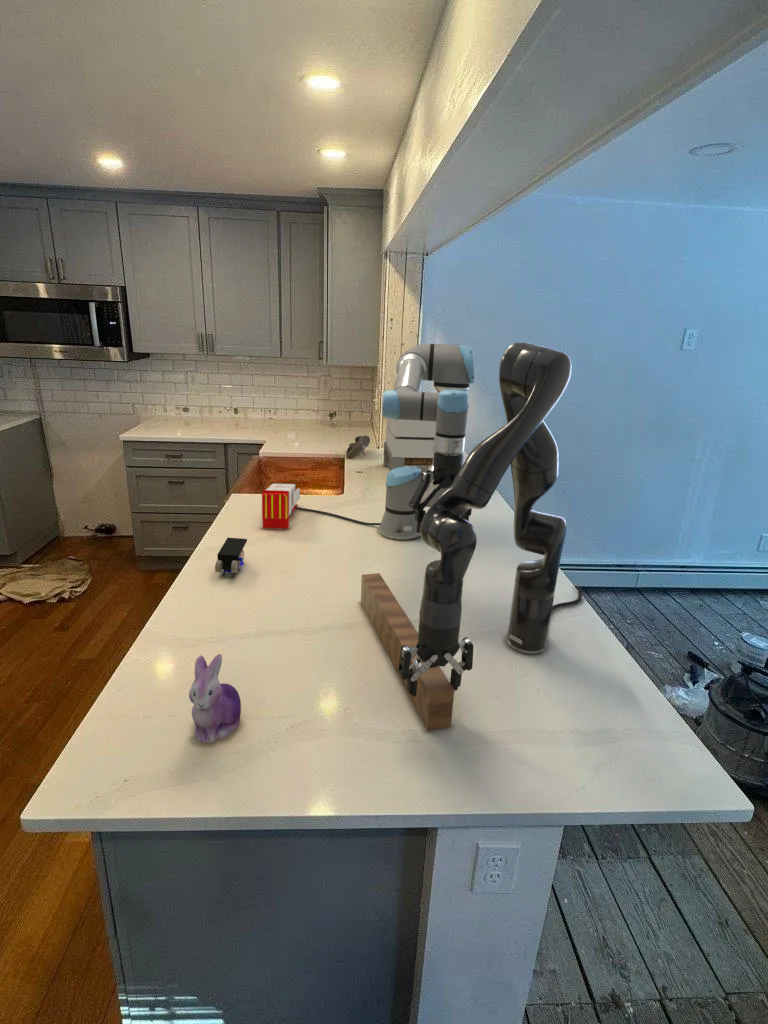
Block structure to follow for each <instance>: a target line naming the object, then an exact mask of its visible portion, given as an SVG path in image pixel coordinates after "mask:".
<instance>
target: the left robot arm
mask: <svg viewBox="0 0 768 1024" xmlns="http://www.w3.org/2000/svg"><path fill="white" fill-rule="evenodd" d="M395 372H396V378H395V381H394V382H395V383H394V386H393V389H388V390H385V391H383V394H382V401H381V402H382V403H381V414H382V416H383V418H385V419H386V418H390V419H395V420H398V419H400V420H420V421H435V422H436V423H435V437H434V450H433V463H432V465H430V466H429V465H428V466H427V471H426V470H425V471H424V470H423V471H422V469H421V468H420V467H419V466H418V467H417V466H404V467H399V468H395V469H393V470H391V471H390V470H389V471H388V473H387V475H386V482H385V487H386V488H385V489H386V490H385V504H384V505H385V507H384V508H385V509H384V513H383V515H382V519H381V522H366V521H361V520H357V519H354V518H349V517H346V516H342V515H339V514H337V513H331V512H328V511H323V510H317V509H312V508H305V507H304V508H303V507H298V506H297V507H296V509H295V510H300V511H307V512H312V513H316V514H317V513H318V514H321V515H328V516H332V517H335V518H338V519H339V518H340V519H342V520H346V521H350V522H353V523H357V524H361V525H366V526H378V533H379V534H380V535H381V536H382V537H385V538H387V539H389V540H395V541H410V540H415V539H418V538H421V534H420V527H421V522H422V520H423V517H424V515H425V514H426V512H427V511H426V510H425V508H430V507H431V506H432V505H433V504H434V503H435V502H436V501H437V500H438V498H439V497H440V496H441V495H442V494H443V493H444V492H445V491H446V490H447V489H448V488H449V487H450V486H451V485H452V484H453V482H454V480H455V478H456V476H457V474H458V473H459V471H460V469H461V467H462V465H463V464H464V454H463V453H464V451H465V444H466V431H467V423H468V422H467V421H468V412H469V411H468V410H469V406H470V405H469V396H470V395H469V393H468V392H467V391H468V390H469V389H470V384H474V383H475V355H474V350H473V348H472V347H471V346H469V345H463V344H447V343H446V344H443V343H429V342H426V343H419V344H416V345H414V346H412V347H410V348H408V349H407V350H405V351H404V352H402V354H401V355H400V356H399V357H398V359H397V361H396V366H395ZM423 381H428V382H429V381H430V382H433V388H434V389H435V391H436V392H430V391H429V392H427V391H421V389H422V382H423ZM472 511H473V510H472V509H468V510H467V511H466V512H465V513H464V514H463V515H462V516H461V518H463V519H465V520H467V521H469V522H470V517H471V516H472V513H473V512H472Z"/></svg>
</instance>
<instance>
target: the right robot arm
mask: <svg viewBox="0 0 768 1024" xmlns="http://www.w3.org/2000/svg"><path fill="white" fill-rule="evenodd" d="M572 367H573V366H572V360H571V358H570V356H569V355H568V354H567V353H565V352H563V351H561V350H559V349H554V348H550V347H545V346H542V345H537V344H535V343H530V342H525V341H516V342H513V343H511V344H510V345H509V346H508V347H507V348H506V349H505V351H504V352H503V354H502V357H501V358H500V363H499V369H498V382H499V383H498V384H499V390H500V394H501V395H500V396H501V399H502V404H503V405H502V406H503V408H504V413H505V414H504V415H505V419H506V423H505V424H504V425H503V426H502V427H500V428H498V430H495V431H494V432H493V433H491V434H490V435H488V436H487V437H485V438H484V439H483V440H481V441H480V442H479V443H478V444H477V445H476V446H475V447H474V448H472V450H471V451H470V452H469V454H468V455H467V456H466V458H465V460H464V461H463V465H462V467H461V469H460V471H459V473H458V474H457V476H456V478H455V480H454V482H453V484H452V485H451V486H450V487H449V488H448V489H447V490H446V491H445V492H444V493H443V494H442V495H441V496H440V497H439V498H438V500H437V501H436V502H435V503H434V504H433V505H432V506H431V507H428V510H427V511H426V514H425V515H424V517H423V520H422V522H421V527H420V534H421V536H420V538H421V540H422V541H423V542H424V543H425V544H426V545H427V546H429V547H431V548H432V549H434V550H435V551H437V552H439V553H440V559H437V560H433V561H431V562H429V563H428V564H427V565H426V567H425V570H424V575H423V587H422V588H423V589H422V597H421V600H420V605H419V606H420V607H419V614H418V615H419V618H418V631H417V632H418V643H417V645H416V647H407V646H406V645H402V646H401V651H400V658H399V666H398V672H399V674H400V675H401V677H402V679H403V680H406V679H407V690H408V692H409V694H411V696H412V697H415V696H416V694H417V679H418V677H419V676H420V675H421V674H422V673H425V672H426V670H427V669H428V668H429V667H430V668H434V667H437V666H439V667H446V666H447V664H449V665H450V666H451V667H452V668H451V670H450V679H449V682H450V684H451V685H452V687H453V688H454V691H458V690H459V688H460V687H461V685H462V675H463V674H464V672H465V671H471V670H472V669H473V664H474V644H473V642H472V641H471V640H470V639H469V638H468V637H467V636H464V637H463V638H462V640H459V639H460V631H461V621H462V612H463V599H462V598H463V590H464V589H463V588H464V577H465V575H466V572H467V571H468V568H469V566H470V563H471V561H472V558H473V556H474V554H475V551H476V549H477V541H478V540H477V539H478V538H477V531H476V528H475V527H474V525H473V524H472V523H471V522H470V520H469V521H467V520H465V519H463V518H461V516H462V515H463V514H464V513H465V512H466V511H467V510H468V509H473V510H483V509H484V508H485V507H487V505H488V504H489V502H490V500H491V499H492V496H493V495H494V493H495V491H496V490H497V488H498V486H499V484H500V482H501V481H502V480H503V477H504V475H505V474H506V473H507V470H508V468H509V467H510V472H511V473H510V474H511V479H512V480H511V481H512V488H513V502H514V503H513V505H514V506H513V540H514V544H515V546H516V547H517V548H518V549H520V550H522V551H525V552H529V553H532V554H537V555H541V556H543V558H539V559H533V560H526V561H521V562H520V563H518V565H517V566H516V571H515V576H514V585H513V591H512V599H511V607H510V614H509V620H508V628H507V629H508V630H507V635H506V640H505V641H506V644H507V645H508V647H510V648H511V649H512V650H514V651H516V652H519V653H521V654H526V655H538V654H542V653H544V652H545V651H546V650H547V641H548V635H549V630H550V624H551V619H552V612H554V611H555V610H556V609H558V608H561V607H568V606H572V605H573V606H574V605H577V604H579V603H580V602H581V601H582V599H583V592H582V588H581V586H580V585H576V586H575V589H576V590H577V593H578V596H577V598H576V599H575V600H570V601H565V602H560V603H556V604H554V599H555V593H556V588H557V587H556V586H557V580H558V576H559V575H558V574H559V569H560V565H561V558H562V554H563V549H564V545H565V540H566V536H567V528H568V527H567V521H566V519H565V518H564V517H562V516H558V515H554V514H549V513H545V512H541V511H536V510H534V508H533V507H534V506H535V504H536V503H537V502H538V501H539V500H540V499H541V498H543V497H544V496H545V495H546V494H547V493H548V492H549V491H550V490H551V489H552V488H553V486H554V485H555V484H556V482H557V479H558V477H559V448H558V444H557V442H556V440H555V438H554V437H555V436H553V434H552V432H551V430H550V429H549V427H548V426H547V424H546V422H545V421H544V420H545V419H546V417H548V415H549V414H550V413H551V411H552V410H553V408H554V407H555V406H556V404H557V403H558V402H559V400H560V398H561V397H562V395H563V394H564V392H565V390H566V389H567V386H568V384H569V382H570V379H571V377H572ZM459 650H461V660H460V661H457V659H456V658H455V656H456V654H457V653H458V652H459ZM415 654H417V656H416V657H415V659H414V660H413V656H414V655H415ZM410 660H413V664H412V665H411V666H410ZM421 661H423V662H424V663H423V664H422V665H421Z"/></svg>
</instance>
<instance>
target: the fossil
mask: <svg viewBox="0 0 768 1024" xmlns="http://www.w3.org/2000/svg"><path fill="white" fill-rule="evenodd" d="M354 441H355V442H350V443H349V444H348V447H347V449H346V451H345V452H346V453H345V457H346V458H347V459H353V458H355V457H357V456H359V455H360V454H363V455H364V456H365V455H366V453H365V452H364V451H365V450H366V448H367V447H369V445H370V443H371V438H370V436H369V435H368V434H367V435H366V434H364V435H358V436H355V438H354Z"/></svg>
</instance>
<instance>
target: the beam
mask: <svg viewBox="0 0 768 1024" xmlns="http://www.w3.org/2000/svg"><path fill="white" fill-rule="evenodd" d="M360 604H361V606H362V608H363V610H364V612H365V614H366V616H367V618H368V619H369V622H370V624H371V625H372V627H373V629H374V631H375V633H376V635H377V637H378V639H379V641H380V643H381V645H382V647H383V648H384V651H385V652H386V654H387V656H388V659H389V660H390V662H391V664H392V666H393V668H394V670H395V672H396V674H397V675H398V677H399V680H400V682H401V683H402V685H403V687H404V689H405V691H406V693H407V695H408V697H409V699H410V701H411V702H412V704H413V706H414V708H415V711H416V713H417V714H418V716H419V718H420V720H421V723H422V724H423V726H424V727H425V729H426V731H433V730H438V729H444V728H449V727H451V726H452V717H453V707H454V698H455V690H454V688H453V687H452V685H451V684H450V680H449V679H448V678H447V676H446V674H445V672H444V671H443V669H442V668H441V666H437V667H434V668H430V667H429V668H428V669H427V670H426V672H425V673H422V674H421V675H420V676H419V677H418V679H417V694H416V696H415V697H412V696H411V694H409V692H408V690H407V679H406V680H403V679H402V677H401V675H400V674H399V672H398V666H399V658H400V651H401V646H402V645H406V646H407V647H416V645H417V643H418V632H419V631H418V630H417V629H416V628H415V626H414V624H413V623H412V621H411V620H410V618H409V617H408V615H407V613H406V612H405V611H404V609H403V608H402V606H401V604H400V603H399V601H398V600H397V598H396V596H395V595H394V593H393V592H392V590H391V588H390V587H389V586H388V584H387V582H386V581H385V579H384V578H383V576H382V575H381V573H380V572H377V573H366V574H365V573H364V574H361V587H360ZM416 656H417V654H415V655H414V656H413V660H414V659H415V657H416ZM413 660H410V666H411V665H412V664H413ZM423 663H424V662H423V661H421V665H422V664H423Z"/></svg>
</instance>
